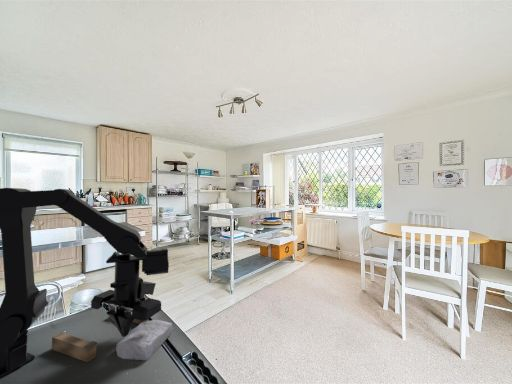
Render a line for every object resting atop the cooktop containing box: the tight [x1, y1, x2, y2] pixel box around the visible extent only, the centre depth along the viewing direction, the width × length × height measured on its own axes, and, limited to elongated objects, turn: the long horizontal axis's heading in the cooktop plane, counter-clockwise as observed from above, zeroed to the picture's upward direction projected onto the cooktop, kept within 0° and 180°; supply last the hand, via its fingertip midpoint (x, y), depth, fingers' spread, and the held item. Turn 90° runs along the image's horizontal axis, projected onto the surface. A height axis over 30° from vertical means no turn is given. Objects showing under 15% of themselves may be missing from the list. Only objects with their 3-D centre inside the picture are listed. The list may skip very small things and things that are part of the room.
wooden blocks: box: [51, 319, 149, 364], centre depth 62 cm, size 12×18×3 cm
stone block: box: [115, 319, 173, 361], centre depth 58 cm, size 12×5×10 cm
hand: (125, 336), depth 59 cm, fingers closed
